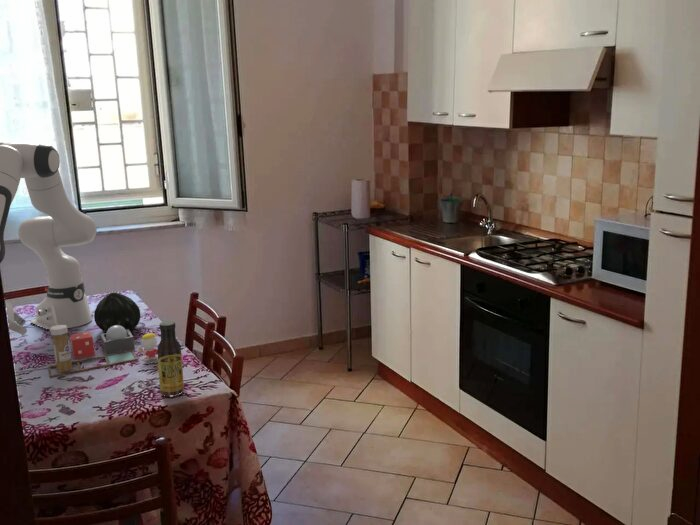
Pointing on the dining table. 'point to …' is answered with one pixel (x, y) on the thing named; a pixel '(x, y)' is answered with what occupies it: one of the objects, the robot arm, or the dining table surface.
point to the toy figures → (148, 347)
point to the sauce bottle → (169, 361)
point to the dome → (116, 332)
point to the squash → (117, 312)
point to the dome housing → (118, 343)
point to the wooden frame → (110, 359)
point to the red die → (82, 344)
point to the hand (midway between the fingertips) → (24, 327)
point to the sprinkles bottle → (61, 348)
